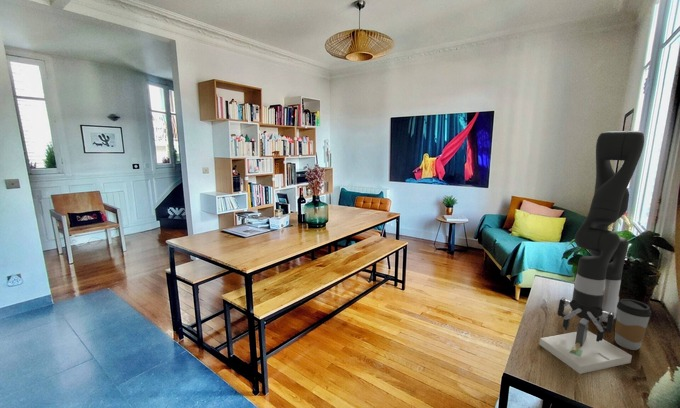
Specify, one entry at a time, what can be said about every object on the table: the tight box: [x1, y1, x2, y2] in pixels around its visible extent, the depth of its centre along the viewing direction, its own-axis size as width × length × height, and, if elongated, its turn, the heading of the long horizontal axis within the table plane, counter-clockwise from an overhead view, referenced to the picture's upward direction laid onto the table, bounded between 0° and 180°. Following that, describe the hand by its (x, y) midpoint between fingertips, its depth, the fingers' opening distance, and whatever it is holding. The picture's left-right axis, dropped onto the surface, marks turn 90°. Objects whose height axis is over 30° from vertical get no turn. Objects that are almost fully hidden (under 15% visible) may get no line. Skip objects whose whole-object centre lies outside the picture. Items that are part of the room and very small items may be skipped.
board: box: [539, 330, 633, 375], centre depth 99 cm, size 20×14×3 cm
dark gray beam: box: [573, 318, 590, 352], centre depth 99 cm, size 2×11×7 cm, turn 131°
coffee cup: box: [614, 298, 652, 351], centre depth 102 cm, size 8×8×15 cm
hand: (581, 334), depth 101 cm, fingers open, 8 cm apart
